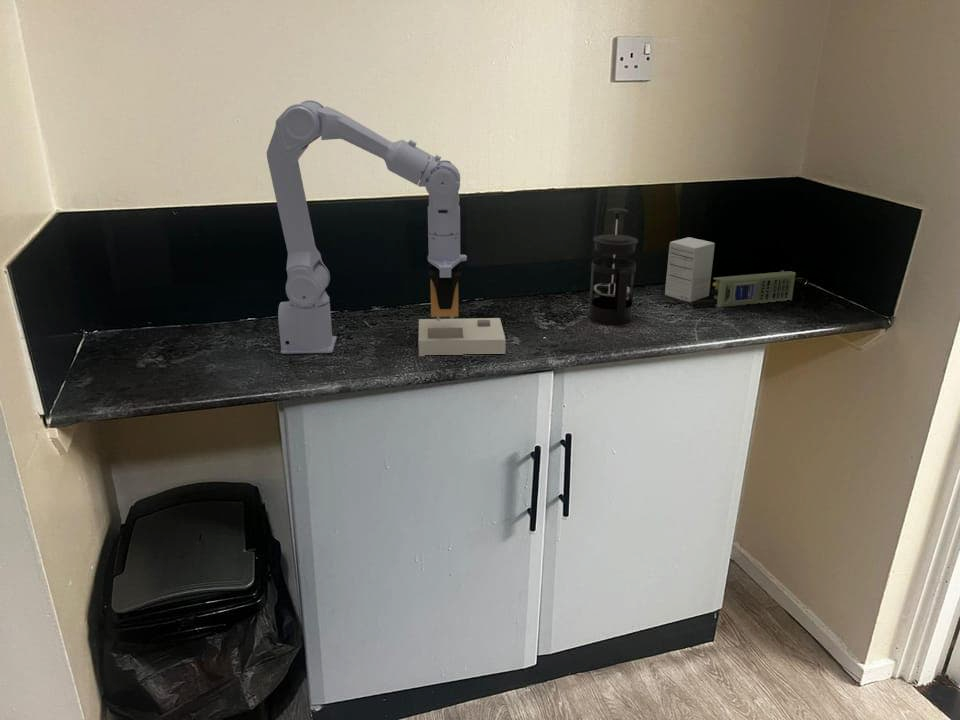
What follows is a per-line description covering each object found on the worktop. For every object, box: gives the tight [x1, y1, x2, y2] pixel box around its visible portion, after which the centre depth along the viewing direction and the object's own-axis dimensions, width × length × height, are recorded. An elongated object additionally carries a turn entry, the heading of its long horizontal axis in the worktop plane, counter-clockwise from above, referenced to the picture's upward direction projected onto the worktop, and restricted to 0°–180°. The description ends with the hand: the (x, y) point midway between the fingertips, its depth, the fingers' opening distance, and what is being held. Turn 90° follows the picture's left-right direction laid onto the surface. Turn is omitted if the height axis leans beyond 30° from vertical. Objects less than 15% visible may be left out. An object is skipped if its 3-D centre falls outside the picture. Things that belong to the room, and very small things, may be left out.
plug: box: [430, 278, 459, 321], centre depth 143 cm, size 5×4×7 cm
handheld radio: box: [691, 270, 797, 308], centre depth 172 cm, size 7×3×25 cm
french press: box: [587, 207, 639, 326], centre depth 158 cm, size 12×9×23 cm
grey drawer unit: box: [664, 236, 716, 303], centre depth 175 cm, size 7×7×13 cm
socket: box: [418, 317, 507, 357], centre depth 148 cm, size 16×12×4 cm
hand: (445, 304), depth 143 cm, fingers closed on plug, 4 cm apart
